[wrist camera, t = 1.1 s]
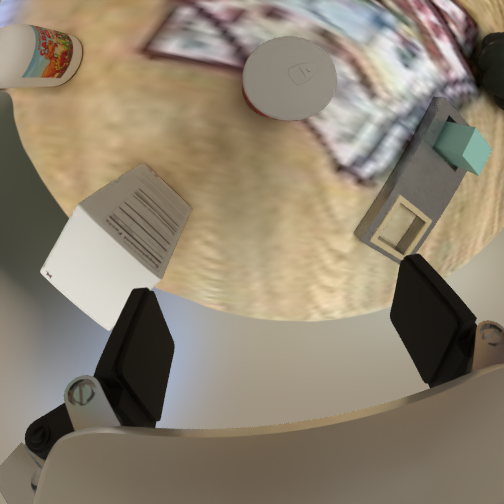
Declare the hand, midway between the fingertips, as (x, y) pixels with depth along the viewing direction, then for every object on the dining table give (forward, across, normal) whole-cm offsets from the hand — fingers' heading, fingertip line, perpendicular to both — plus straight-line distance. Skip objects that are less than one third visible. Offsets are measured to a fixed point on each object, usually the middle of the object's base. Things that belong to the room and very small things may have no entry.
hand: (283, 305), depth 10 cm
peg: (+27, -28, -2) cm, 39 cm away
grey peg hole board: (+27, -24, +4) cm, 36 cm away
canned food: (+27, -4, -9) cm, 29 cm away
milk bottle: (+27, +24, -20) cm, 41 cm away
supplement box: (+27, +15, +4) cm, 31 cm away
